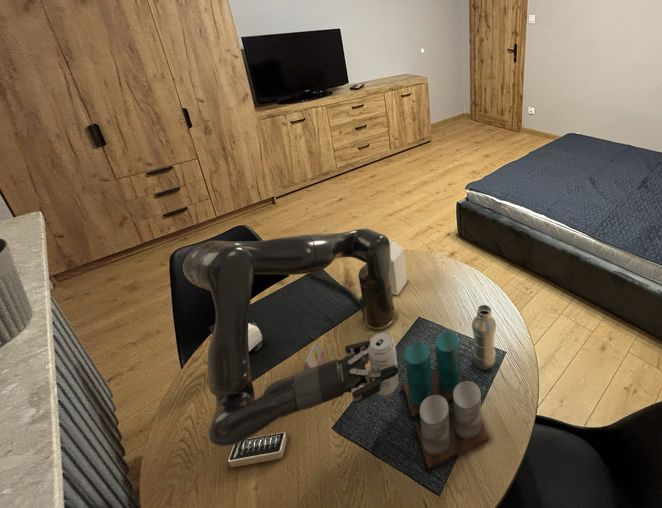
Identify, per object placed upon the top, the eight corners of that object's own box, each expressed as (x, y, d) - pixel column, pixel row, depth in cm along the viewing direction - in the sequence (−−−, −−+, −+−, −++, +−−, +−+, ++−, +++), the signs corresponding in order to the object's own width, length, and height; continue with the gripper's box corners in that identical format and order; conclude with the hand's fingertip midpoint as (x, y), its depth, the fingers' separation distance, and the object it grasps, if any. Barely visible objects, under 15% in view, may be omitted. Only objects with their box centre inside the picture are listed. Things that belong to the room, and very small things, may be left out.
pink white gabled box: (305, 389, 98) (298, 363, 95) (315, 366, 105) (309, 340, 101) (318, 389, 98) (312, 363, 94) (328, 366, 105) (322, 341, 101)
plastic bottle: (494, 375, 102) (495, 321, 94) (470, 370, 103) (469, 317, 95) (497, 354, 107) (498, 302, 100) (474, 351, 109) (474, 299, 101)
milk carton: (406, 282, 136) (402, 239, 128) (397, 295, 130) (392, 251, 122) (389, 278, 138) (384, 236, 131) (379, 291, 132) (374, 247, 124)
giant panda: (254, 337, 114) (247, 313, 110) (267, 342, 112) (260, 319, 108) (208, 377, 102) (198, 353, 98) (221, 385, 100) (212, 360, 96)
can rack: (413, 418, 91) (408, 373, 85) (403, 387, 99) (398, 343, 92) (467, 394, 97) (467, 350, 90) (454, 365, 104) (453, 323, 98)
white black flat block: (282, 458, 84) (279, 452, 83) (230, 467, 82) (227, 461, 81) (287, 437, 88) (285, 431, 87) (238, 446, 86) (235, 440, 85)
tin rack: (428, 470, 81) (425, 436, 76) (416, 430, 89) (413, 397, 84) (488, 439, 87) (489, 405, 82) (472, 404, 94) (472, 371, 89)
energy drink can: (404, 382, 90) (399, 337, 85) (387, 402, 86) (381, 356, 80) (386, 370, 93) (381, 326, 88) (368, 389, 89) (361, 344, 83)
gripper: (318, 403, 73) (400, 371, 80) (314, 346, 86) (385, 323, 92) (324, 427, 76) (402, 394, 83) (319, 369, 88) (388, 345, 95)
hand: (393, 357), depth 87 cm, fingers closed on energy drink can, 6 cm apart
